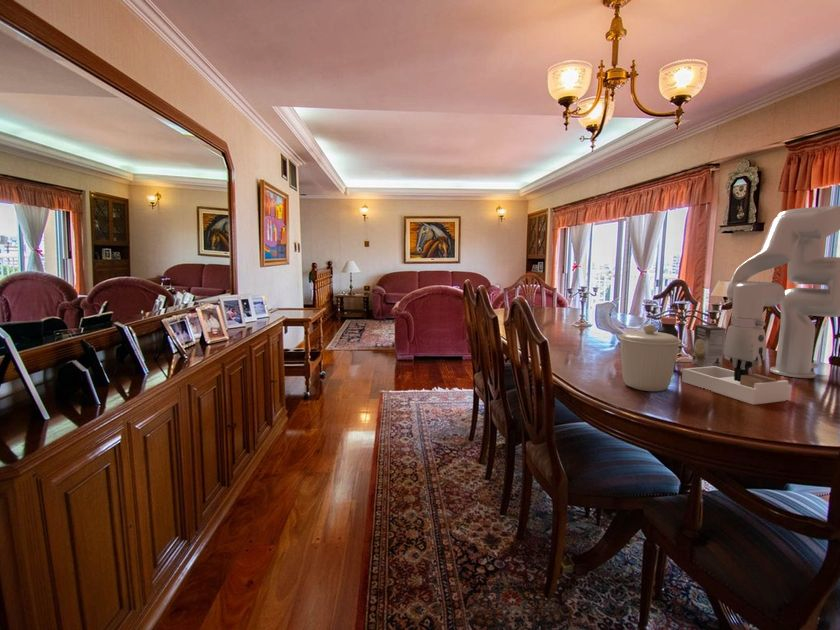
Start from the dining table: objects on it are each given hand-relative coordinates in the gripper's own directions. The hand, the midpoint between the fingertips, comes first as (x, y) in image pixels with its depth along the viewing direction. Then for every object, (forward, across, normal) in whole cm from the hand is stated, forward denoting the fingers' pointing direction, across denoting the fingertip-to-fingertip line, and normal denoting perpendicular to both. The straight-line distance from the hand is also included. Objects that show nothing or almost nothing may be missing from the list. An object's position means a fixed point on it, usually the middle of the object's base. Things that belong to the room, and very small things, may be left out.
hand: (740, 380), depth 130 cm
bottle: (+4, +30, -1) cm, 30 cm away
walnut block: (+1, -6, 0) cm, 6 cm away
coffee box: (+4, +28, -20) cm, 35 cm away
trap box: (+4, +2, 0) cm, 5 cm away
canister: (+4, +13, +24) cm, 27 cm away
